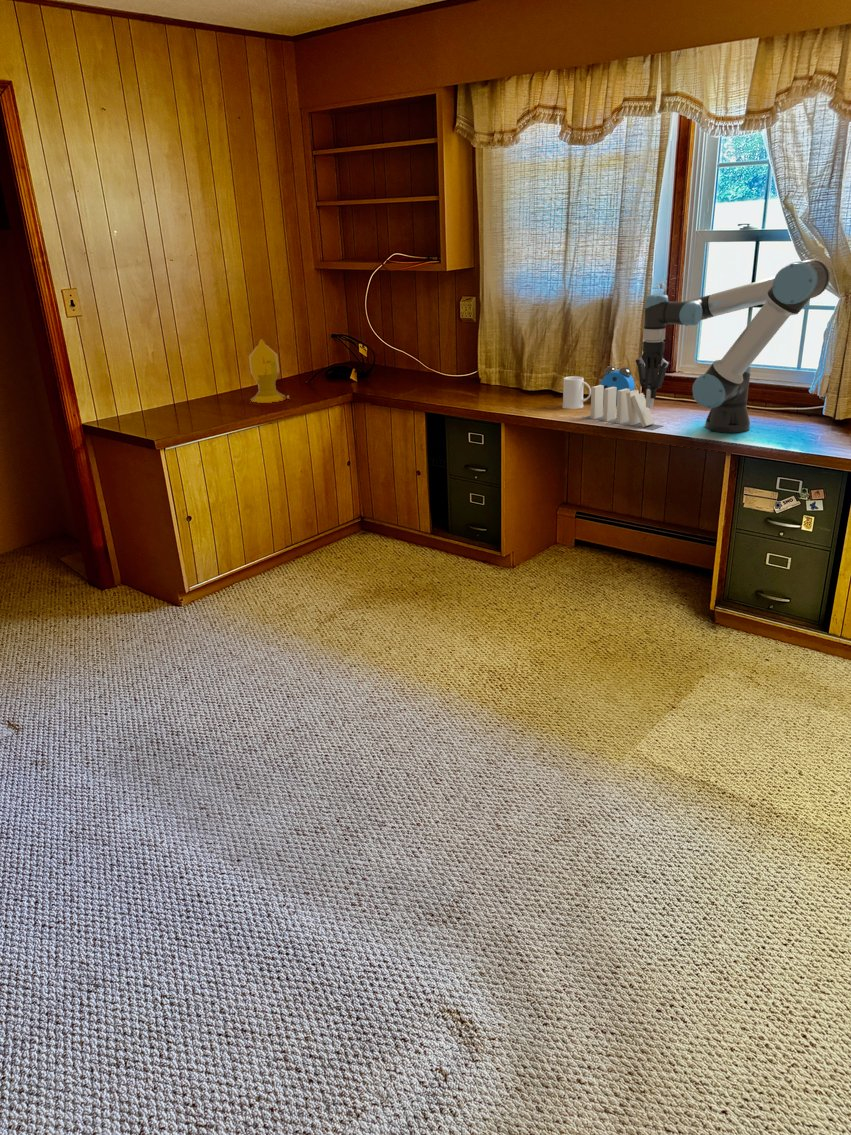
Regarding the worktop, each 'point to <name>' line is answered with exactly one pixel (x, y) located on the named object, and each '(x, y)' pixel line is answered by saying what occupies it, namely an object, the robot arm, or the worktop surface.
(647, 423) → the domino
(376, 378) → the worktop surface
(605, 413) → the domino
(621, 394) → the domino
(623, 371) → the alarm clock
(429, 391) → the worktop surface
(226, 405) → the worktop surface
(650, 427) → the mat
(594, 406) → the domino
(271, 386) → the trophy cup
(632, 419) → the domino
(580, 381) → the mug
